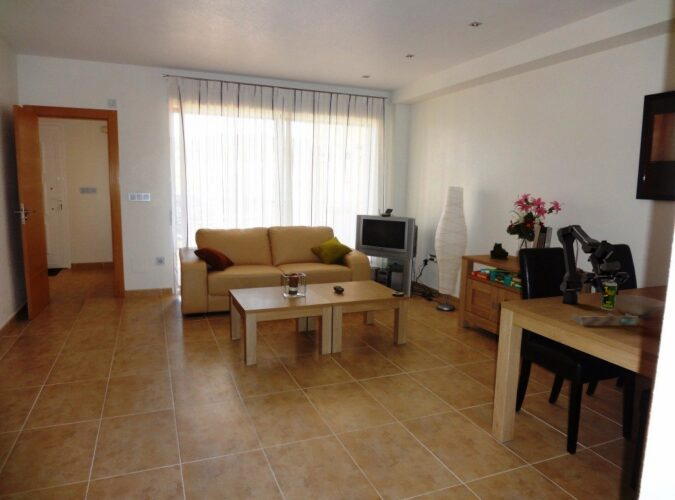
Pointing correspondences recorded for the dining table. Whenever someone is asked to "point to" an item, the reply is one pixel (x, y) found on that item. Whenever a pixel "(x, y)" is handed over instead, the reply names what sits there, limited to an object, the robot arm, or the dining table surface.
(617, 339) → the dining table surface
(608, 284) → the beer can
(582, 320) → the can rack
